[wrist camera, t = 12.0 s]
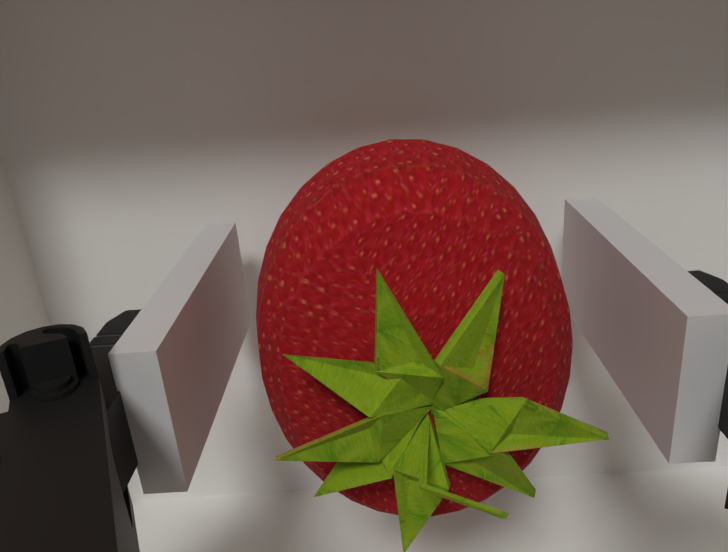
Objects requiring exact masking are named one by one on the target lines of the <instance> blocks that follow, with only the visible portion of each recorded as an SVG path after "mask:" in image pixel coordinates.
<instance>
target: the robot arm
mask: <svg viewBox="0 0 728 552" xmlns="http://www.w3.org/2000/svg"><path fill="white" fill-rule="evenodd" d="M561 279H562V283H563V286H564V290H565V293H566V297H567V301H568V304H569V308H570V316H571V317H572V319H573V320H574V322H575V323H576V325H577V326H578V328H579V329H580V331H581V332H582V334H583V335H584V337H585V338H586V340H587V341H588V343H589V344H590V346H591V347H592V349H593V350H594V352H595V353H596V355H597V356H598V358H599V359H600V361H601V362H602V364H603V365H604V367H605V368H606V370H607V371H608V373H609V374H610V376H611V377H612V379H613V380H614V382H615V383H616V385H617V386H618V388H619V389H620V391H621V392H622V394H623V395H624V397H625V398H626V400H627V401H628V403H629V404H630V406H631V408H632V409H633V411H634V412H635V414H636V415H637V417H638V418H639V420H640V421H641V423H642V424H643V426H644V427H645V429H646V430H647V432H648V433H649V435H650V436H651V438H652V439H653V441H654V442H655V444H656V445H657V447H658V448H659V450H660V451H661V453H662V454H663V456H664V457H665V459H666V460H667V462H668V463H669V464H677V463H695V462H712V461H715V460H716V453H717V447H718V441H719V434H720V431H721V432H722V433H723V434H724V435H725V437H726V438H727V439H728V283H727V282H726V281H724V280H723V279H721V278H718V277H716V276H713V275H710V274H708V273H705V272H703V271H700V270H694V271H686V270H685V269H684V268H683V267H681V266H680V265H679V264H678V263H677V262H675V261H674V260H673V259H672V258H670V257H669V256H668V255H667V254H666V253H664V252H663V251H662V250H661V249H659V248H658V247H657V246H656V245H655V244H653V243H652V242H651V241H650V240H648V239H647V238H646V237H645V236H643V235H642V234H641V233H640V232H639V231H637V230H636V229H635V228H634V227H632V226H631V225H630V224H629V223H628V222H626V221H625V220H624V219H623V218H621V217H620V216H619V215H618V214H617V213H615V212H614V211H613V210H612V209H610V208H609V207H608V206H607V205H606V204H604V203H603V202H602V201H601V200H599V199H598V198H597V197H586V198H572V199H565V206H564V229H563V252H562V274H561ZM250 322H251V317H250V311H249V304H248V298H247V292H246V285H245V279H244V272H243V266H242V260H241V253H240V247H239V241H238V234H237V228H236V222H233V223H219V224H205V226H204V227H203V228H202V230H201V231H200V232H199V234H198V235H197V236H196V238H195V239H194V240H193V242H192V243H191V244H190V246H189V247H188V248H187V250H186V251H185V252H184V254H183V255H182V256H181V258H180V259H179V260H178V262H177V263H176V264H175V266H174V267H173V268H172V270H171V271H170V272H169V274H168V275H167V276H166V278H165V279H164V280H163V282H162V283H161V284H160V286H159V287H158V288H157V290H156V291H155V292H154V293H153V295H152V296H151V297H150V299H149V300H148V301H147V303H146V304H145V305H144V307H143V308H142V309H139V310H126V311H124V312H122V313H121V314H119V315H117V316H116V317H114V318H113V319H111V320H109V321H108V322H107V323H106V324H105V325H104V326H103V327H102V329H101V330H100V331H99V332H98V333H97V335H96V337H94V338H93V339H92V341H91V342H89V339H88V335H87V332H86V331H85V329H84V328H83V327H81V326H77V325H74V324H57V325H50V326H44V327H40V328H36V329H33V330H30V331H26V332H24V333H22V334H19V335H17V336H15V337H13V338H11V339H9V340H8V341H6V342H5V343H3V344H2V345H1V346H0V373H1V376H2V379H3V382H4V385H5V388H6V391H7V394H8V397H9V400H10V401H9V409H8V412H4V413H1V414H0V552H140V550H139V543H138V537H137V530H136V523H135V517H134V510H133V504H132V501H131V497H130V493H129V489H128V483H129V481H130V479H131V477H132V475H133V474H134V472H135V470H136V468H137V470H138V474H139V478H140V482H141V486H142V490H143V494H155V493H173V492H187V491H188V489H189V486H190V483H191V481H192V478H193V475H194V473H195V470H196V467H197V465H198V462H199V459H200V457H201V454H202V451H203V448H204V446H205V443H206V440H207V438H208V435H209V432H210V430H211V427H212V424H213V422H214V419H215V416H216V414H217V411H218V408H219V406H220V403H221V400H222V398H223V395H224V392H225V389H226V387H227V384H228V381H229V379H230V376H231V373H232V371H233V368H234V365H235V363H236V360H237V357H238V355H239V352H240V349H241V347H242V344H243V341H244V339H245V336H246V333H247V330H248V328H249V325H250ZM724 508H725V509H728V489H727V495H726V501H725V507H724Z"/></svg>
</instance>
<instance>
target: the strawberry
mask: <svg viewBox="0 0 728 552" xmlns="http://www.w3.org/2000/svg"><path fill="white" fill-rule="evenodd" d="M256 324H257V337H258V348H259V357H260V365H261V373H262V380H263V383H264V386H265V390H266V393H267V396H268V399H269V403H270V406H271V409H272V412H273V414H274V416H275V418H276V420H277V422H278V424H279V426H280V428H281V430H282V432H283V434H284V436H285V438H286V440H287V441H288V442H289V444H290V445H291V446H292V448H293V449H291V450H289V451H287V452H284V453H282V454H280V455H277V456H276V460H275V461H303V462H304V464H305V465H306V466H307V467H308V468H309V469H310V470H312V471H313V472H314V473H315V474H316V475H317V476H318V477H319V478H320V479H321V480H322V481H323V484H322V485H321V486H320V488H319V489H318V491H317V492H316V494H315V495H314V497H317V496H321V495H325V494H329V493H333V492H339V493H340V494H342V495H343V496H345V497H347V498H348V499H350V500H351V501H354V502H356V503H359V504H361V505H363V506H366V507H368V508H371V509H373V510H376V511H379V512H384V513H390V514H395V515H399V522H400V530H401V538H402V546H403V552H406V550H407V549H408V547H409V546H410V544H411V543H412V542H413V540H414V539H415V537H416V536H417V534H418V533H419V532H420V530H421V529H422V527H423V526H424V524H425V523H426V522H427V520H428V519H429V517H430V516H436V515H441V514H446V513H451V512H456V511H460V510H463V509H465V508H467V507H470V508H473V509H476V510H479V511H482V512H484V513H487V514H490V515H493V516H496V517H498V518H501V519H503V518H507V517H508V514H509V513H506V512H504V511H501V510H498V509H496V508H493V507H490V506H487V505H484V504H481V503H479V502H482V501H484V500H486V499H487V498H489V497H490V496H492V495H493V494H495V493H496V492H498V491H499V490H501V489H502V488H504V487H506V488H509V489H511V490H514V491H517V492H519V493H522V494H525V495H528V496H530V497H533V498H534V497H535V493H536V489H535V488H534V487H533V485H532V484H531V482H530V481H529V480H528V478H527V477H526V476H525V474H524V473H523V470H524V469H525V468H526V467H527V466H528V465H529V464H530V463H531V462H532V460H533V459H534V457H535V456H536V454H537V453H538V452H539V450H540V449H541V448H542V447H550V446H559V445H567V444H575V443H584V442H592V441H600V440H609V437H608V433H607V432H606V431H603V430H601V429H599V428H596V427H594V426H591V425H589V424H587V423H584V422H582V421H579V420H577V419H575V418H572V417H570V416H567V415H565V414H563V413H560V411H561V409H562V405H563V401H564V398H565V394H566V390H567V386H568V383H569V379H570V371H571V359H572V347H573V339H572V328H571V317H570V308H569V304H568V301H567V297H566V293H565V290H564V286H563V283H562V279H561V275H560V272H559V269H558V266H557V263H556V260H555V257H554V254H553V251H552V248H551V245H550V243H549V241H548V239H547V237H546V235H545V233H544V231H543V229H542V227H541V225H540V223H539V221H538V219H537V217H536V215H535V214H534V212H533V211H532V210H531V208H530V207H529V206H528V204H527V203H526V202H525V200H524V199H523V198H522V196H521V195H520V194H519V192H518V191H517V190H516V189H515V187H514V186H513V185H511V184H510V183H509V182H508V181H507V180H506V179H505V178H503V177H502V176H501V175H500V174H499V173H498V172H496V171H495V170H494V169H493V168H492V167H491V166H489V165H488V164H487V163H485V162H483V161H481V160H479V159H477V158H475V157H473V156H472V155H470V154H468V153H466V152H464V151H462V150H460V149H458V148H456V147H452V146H448V145H444V144H440V143H436V142H432V141H428V140H424V139H389V140H386V141H382V142H378V143H374V144H370V145H366V146H362V147H358V148H356V149H354V150H352V151H350V152H348V153H346V154H345V155H343V156H341V157H339V158H337V159H335V160H333V161H332V162H330V163H328V164H326V165H325V166H324V167H323V168H322V169H321V170H320V171H318V172H317V173H316V174H315V175H314V176H313V177H312V178H311V179H309V180H308V181H307V182H306V183H305V184H304V185H303V186H302V187H301V188H300V189H299V190H298V192H297V193H296V195H295V196H294V197H293V199H292V200H291V202H290V203H289V204H288V206H287V207H286V208H285V210H284V211H283V213H282V214H281V215H280V217H279V220H278V222H277V224H276V226H275V229H274V231H273V233H272V235H271V238H270V240H269V242H268V244H267V246H266V249H265V254H264V258H263V262H262V266H261V271H260V275H259V279H258V288H257V307H256Z"/></svg>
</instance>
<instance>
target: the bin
mask: <svg viewBox="0 0 728 552" xmlns="http://www.w3.org/2000/svg"><path fill="white" fill-rule="evenodd" d="M389 139H424V140H428V141H432V142H436V143H440V144H444V145H448V146H452V147H456V148H458V149H460V150H462V151H464V152H466V153H468V154H470V155H472V156H473V157H475V158H477V159H479V160H481V161H483V162H485V163H487V164H488V165H489V166H491V167H492V168H493V169H494V170H495V171H496V172H498V173H499V174H500V175H501V176H502V177H503V178H505V179H506V180H507V181H508V182H509V183H510V184H511V185H513V186H514V187H515V189H516V190H517V191H518V192H519V194H520V195H521V196H522V198H523V199H524V200H525V202H526V203H527V204H528V206H529V207H530V208H531V210H532V211H533V212H534V214H535V215H536V217H537V219H538V221H539V223H540V225H541V227H542V229H543V231H544V233H545V235H546V237H547V239H548V241H549V243H550V245H551V248H552V251H553V254H554V257H555V260H556V263H557V266H558V269H559V272H560V275H561V274H562V252H563V229H564V206H565V199H572V198H586V197H597V198H598V199H599V200H601V201H602V202H603V203H604V204H606V205H607V206H608V207H609V208H610V209H612V210H613V211H614V212H615V213H617V214H618V215H619V216H620V217H621V218H623V219H624V220H625V221H626V222H628V223H629V224H630V225H631V226H632V227H634V228H635V229H636V230H637V231H639V232H640V233H641V234H642V235H643V236H645V237H646V238H647V239H648V240H650V241H651V242H652V243H653V244H655V245H656V246H657V247H658V248H659V249H661V250H662V251H663V252H664V253H666V254H667V255H668V256H669V257H670V258H672V259H673V260H674V261H675V262H677V263H678V264H679V265H680V266H681V267H683V268H684V269H685V270H686V271H694V270H700V271H703V272H705V273H708V274H710V275H713V276H716V277H718V278H721V279H723V280H724V281H726V282H727V283H728V0H0V346H1V345H2V344H3V343H5V342H6V341H8V340H9V339H11V338H13V337H15V336H17V335H19V334H22V333H24V332H26V331H30V330H33V329H36V328H40V327H44V326H50V325H57V324H74V325H77V326H81V327H83V328H84V329H85V331H86V332H87V335H88V339H89V342H91V341H92V339H93V338H94V337H96V335H97V333H98V332H99V331H100V330H101V329H102V327H103V326H104V325H105V324H106V323H107V322H108V321H109V320H111V319H113V318H114V317H116V316H117V315H119V314H121V313H122V312H124V311H126V310H139V309H142V308H143V307H144V305H145V304H146V303H147V301H148V300H149V299H150V297H151V296H152V295H153V293H154V292H155V291H156V290H157V288H158V287H159V286H160V284H161V283H162V282H163V280H164V279H165V278H166V276H167V275H168V274H169V272H170V271H171V270H172V268H173V267H174V266H175V264H176V263H177V262H178V260H179V259H180V258H181V256H182V255H183V254H184V252H185V251H186V250H187V248H188V247H189V246H190V244H191V243H192V242H193V240H194V239H195V238H196V236H197V235H198V234H199V232H200V231H201V230H202V228H203V227H204V226H205V224H219V223H233V222H236V228H237V234H238V241H239V247H240V253H241V260H242V266H243V272H244V279H245V285H246V292H247V298H248V304H249V311H250V317H251V322H250V325H249V328H248V330H247V333H246V336H245V339H244V341H243V344H242V347H241V349H240V352H239V355H238V357H237V360H236V363H235V365H234V368H233V371H232V373H231V376H230V379H229V381H228V384H227V387H226V389H225V392H224V395H223V398H222V400H221V403H220V406H219V408H218V411H217V414H216V416H215V419H214V422H213V424H212V427H211V430H210V432H209V435H208V438H207V440H206V443H205V446H204V448H203V451H202V454H201V457H200V459H199V462H198V465H197V467H196V470H195V473H194V475H193V478H192V481H191V483H190V486H189V489H188V491H187V492H173V493H155V494H143V490H142V486H141V482H140V478H139V474H138V470H137V468H136V470H135V472H134V474H133V475H132V477H131V479H130V481H129V483H128V489H129V493H130V497H131V501H132V504H133V510H134V517H135V523H136V530H137V537H138V543H139V550H140V552H403V546H402V538H401V530H400V522H399V515H395V514H390V513H384V512H379V511H376V510H373V509H371V508H368V507H366V506H363V505H361V504H359V503H356V502H354V501H351V500H350V499H348V498H347V497H345V496H343V495H342V494H340V493H339V492H333V493H329V494H325V495H321V496H317V497H314V495H315V494H316V492H317V491H318V489H319V488H320V486H321V485H322V484H323V481H322V480H321V479H320V478H319V477H318V476H317V475H316V474H315V473H314V472H313V471H312V470H310V469H309V468H308V467H307V466H306V465H305V464H304V462H303V461H275V460H276V456H277V455H280V454H282V453H284V452H287V451H289V450H291V449H293V448H292V446H291V445H290V444H289V442H288V441H287V440H286V438H285V436H284V434H283V432H282V430H281V428H280V426H279V424H278V422H277V420H276V418H275V416H274V414H273V412H272V409H271V406H270V403H269V399H268V396H267V393H266V390H265V386H264V383H263V380H262V373H261V365H260V357H259V348H258V337H257V324H256V307H257V288H258V279H259V275H260V271H261V266H262V262H263V258H264V254H265V249H266V246H267V244H268V242H269V240H270V238H271V235H272V233H273V231H274V229H275V226H276V224H277V222H278V220H279V217H280V215H281V214H282V213H283V211H284V210H285V208H286V207H287V206H288V204H289V203H290V202H291V200H292V199H293V197H294V196H295V195H296V193H297V192H298V190H299V189H300V188H301V187H302V186H303V185H304V184H305V183H306V182H307V181H308V180H309V179H311V178H312V177H313V176H314V175H315V174H316V173H317V172H318V171H320V170H321V169H322V168H323V167H324V166H325V165H326V164H328V163H330V162H332V161H333V160H335V159H337V158H339V157H341V156H343V155H345V154H346V153H348V152H350V151H352V150H354V149H356V148H358V147H362V146H366V145H370V144H374V143H378V142H382V141H386V140H389ZM570 317H571V316H570ZM571 328H572V339H573V347H572V359H571V371H570V379H569V383H568V386H567V390H566V394H565V398H564V401H563V405H562V409H561V411H560V413H563V414H565V415H567V416H570V417H572V418H575V419H577V420H579V421H582V422H584V423H587V424H589V425H591V426H594V427H596V428H599V429H601V430H603V431H606V432H607V433H608V437H609V440H600V441H592V442H584V443H575V444H567V445H559V446H550V447H542V448H541V449H540V450H539V452H538V453H537V454H536V456H535V457H534V459H533V460H532V462H531V463H530V464H529V465H528V466H527V467H526V468H525V469H524V470H523V473H524V474H525V476H526V477H527V478H528V480H529V481H530V482H531V484H532V485H533V487H534V488H535V489H536V493H535V497H534V498H533V497H530V496H528V495H525V494H522V493H519V492H517V491H514V490H511V489H509V488H506V487H504V488H502V489H501V490H499V491H498V492H496V493H495V494H493V495H492V496H490V497H489V498H487V499H486V500H484V501H482V502H479V503H481V504H484V505H487V506H490V507H493V508H496V509H498V510H501V511H504V512H506V513H509V514H508V517H507V518H503V519H501V518H498V517H496V516H493V515H490V514H487V513H484V512H482V511H479V510H476V509H473V508H470V507H467V508H465V509H463V510H460V511H456V512H451V513H446V514H441V515H436V516H430V517H429V519H428V520H427V522H426V523H425V524H424V526H423V527H422V529H421V530H420V532H419V533H418V534H417V536H416V537H415V539H414V540H413V542H412V543H411V544H410V546H409V547H408V549H407V550H406V552H728V509H725V508H724V507H725V501H726V495H727V489H728V439H727V438H726V437H725V435H724V434H723V433H722V432H721V431H720V434H719V441H718V447H717V453H716V460H715V461H712V462H695V463H677V464H669V463H668V462H667V460H666V459H665V457H664V456H663V454H662V453H661V451H660V450H659V448H658V447H657V445H656V444H655V442H654V441H653V439H652V438H651V436H650V435H649V433H648V432H647V430H646V429H645V427H644V426H643V424H642V423H641V421H640V420H639V418H638V417H637V415H636V414H635V412H634V411H633V409H632V408H631V406H630V404H629V403H628V401H627V400H626V398H625V397H624V395H623V394H622V392H621V391H620V389H619V388H618V386H617V385H616V383H615V382H614V380H613V379H612V377H611V376H610V374H609V373H608V371H607V370H606V368H605V367H604V365H603V364H602V362H601V361H600V359H599V358H598V356H597V355H596V353H595V352H594V350H593V349H592V347H591V346H590V344H589V343H588V341H587V340H586V338H585V337H584V335H583V334H582V332H581V331H580V329H579V328H578V326H577V325H576V323H575V322H574V320H573V319H572V317H571ZM9 401H10V400H9V397H8V394H7V391H6V388H5V385H4V382H3V379H2V376H1V373H0V414H1V413H4V412H8V409H9Z"/></svg>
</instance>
